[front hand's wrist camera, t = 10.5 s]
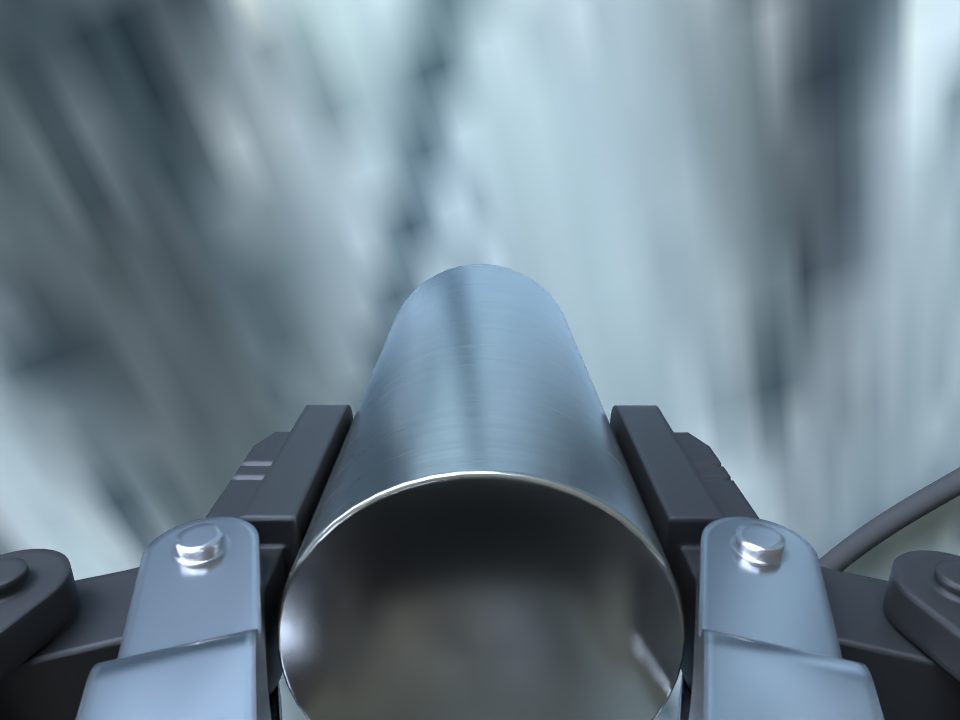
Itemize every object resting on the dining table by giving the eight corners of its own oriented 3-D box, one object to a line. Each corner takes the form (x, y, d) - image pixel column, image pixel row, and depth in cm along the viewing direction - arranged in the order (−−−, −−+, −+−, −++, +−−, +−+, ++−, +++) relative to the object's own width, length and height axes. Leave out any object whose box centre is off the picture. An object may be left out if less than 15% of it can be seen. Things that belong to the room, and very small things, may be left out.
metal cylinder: (604, 311, 16) (769, 570, 7) (521, 460, 18) (568, 840, 8) (433, 231, 15) (365, 403, 6) (362, 393, 17) (221, 727, 8)
